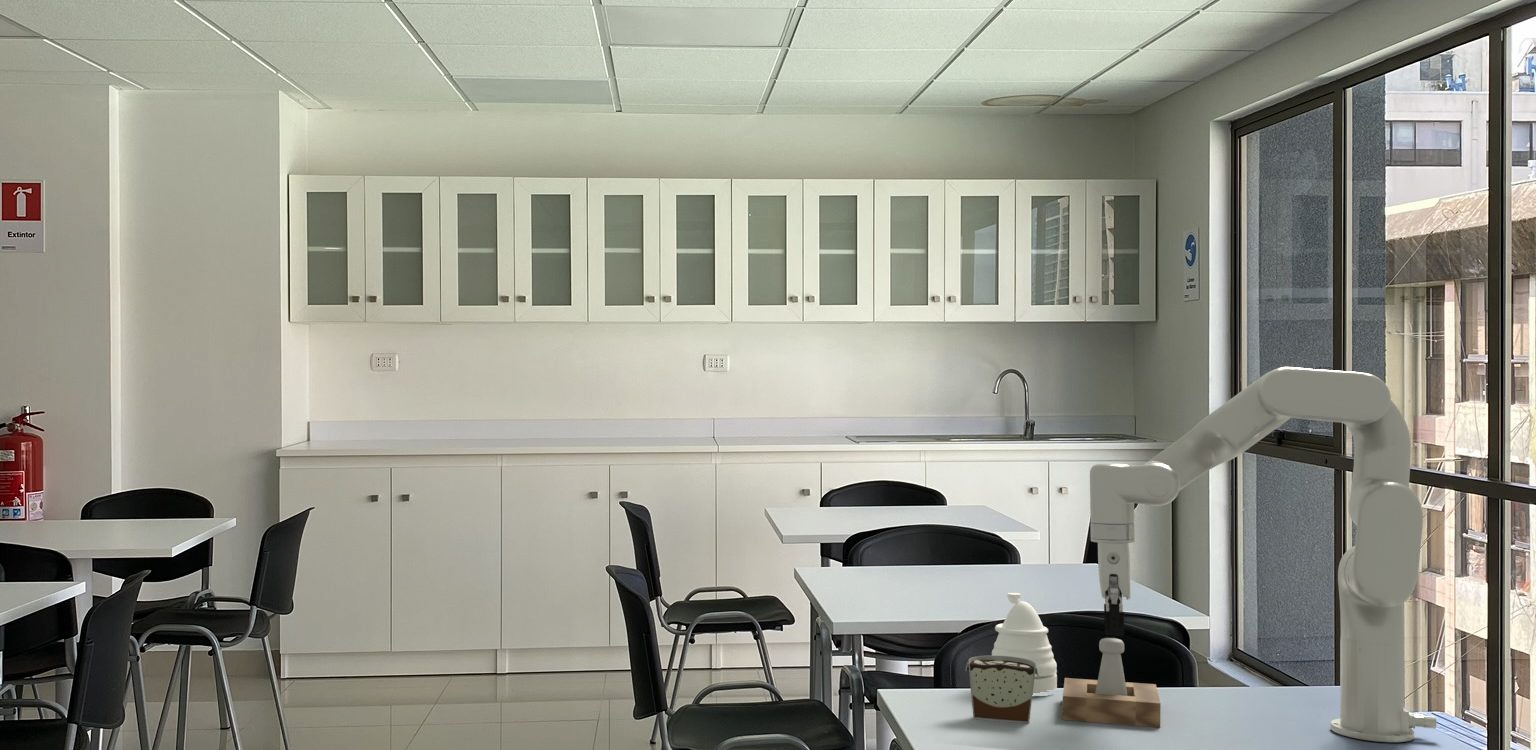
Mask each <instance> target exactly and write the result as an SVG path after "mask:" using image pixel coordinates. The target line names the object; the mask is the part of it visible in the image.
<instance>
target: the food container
mask: <svg viewBox="0 0 1536 750" xmlns="http://www.w3.org/2000/svg"><path fill="white" fill-rule="evenodd" d="M967 671H968V673H969V685H970V695H971V697H970V698H971V706H972V707H971V709H972V718H973V720H985V721H995V722H996V721H997V722H1008V723H1021V724H1030V719H1031V709H1032V703H1033V702H1032V701H1033V697H1032V695H1033V686H1034V678H1035V674H1037V675H1038V670H1037V667H1036V663H1035V662H1033V661H1031V660H1028V659H1024V658H1018V657H1011V656H992V655H978V656H977V655H976V656H973V657H972V656H971V657H970V658H969V659H968V661H967V662H966V666H965V672H967ZM1038 677H1039V675H1038Z"/></svg>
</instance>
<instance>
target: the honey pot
mask: <svg viewBox="0 0 1536 750" xmlns="http://www.w3.org/2000/svg"><path fill="white" fill-rule="evenodd" d="M1006 595H1007V598H1008V601H1009V602H1010V603H1011V604H1013V606H1012V608H1011V609H1010V610H1009V612H1008V613H1007V615H1006V617H1005V619H1004V621H1003V623H999V624H996V625H995V627H994V629H995V631H996V632H997V633H998V634H997V638H996V641H995V642H994V643H993V649H992V650H991V656H1011V657H1018V658H1024V659H1028V660H1031V661H1033V662H1035V663H1036V667H1037V670H1038V675H1039V677H1038V675H1037V674H1035V678H1034V686H1033V693H1040V692H1049V691H1047V690H1054V689H1057V690H1058V684H1057V683H1058V675H1057V673H1058V670H1057V666H1058V665H1057V662H1056V660H1055V658H1054V653H1053V651H1052V648H1053V646H1052V645H1051V644H1050V641H1049V638H1048V635H1047V634H1048V633H1049V628H1048V627H1046V626H1044V624H1043V622H1042V621H1041V618H1040V616H1039V614H1038V612H1037V611H1036V609H1035V608H1034V607H1033V606H1032V605H1031V604H1030V603H1029V602H1028V601H1022V600H1021V596H1022V593H1019V592H1007V594H1006Z"/></svg>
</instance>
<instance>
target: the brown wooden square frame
mask: <svg viewBox="0 0 1536 750" xmlns="http://www.w3.org/2000/svg"><path fill="white" fill-rule="evenodd" d="M1063 681H1064V683H1063V692H1062V720H1065V721H1076V722H1077V721H1079V722H1087V723H1089V722H1090V723H1099V724H1100V723H1101V724H1112V725H1114V724H1116V725H1125V726H1138V727H1139V726H1141V727H1149V728H1151V727H1152V728H1161V710H1162V709H1161V707H1162V705H1161V700H1160V697H1159V693H1158V687H1157V684H1156V683H1155V684H1154V683H1142V682H1141V683H1140V682H1128V681H1127V682H1126V681H1125V683H1126V689H1127V695H1128V696H1121V695H1107V694H1095V692H1096V687H1097V682H1098V679H1084V678H1073V677H1072V678H1071V677H1070V678H1069V677H1064V680H1063Z"/></svg>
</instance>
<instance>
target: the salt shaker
mask: <svg viewBox="0 0 1536 750" xmlns="http://www.w3.org/2000/svg"><path fill="white" fill-rule="evenodd" d="M1098 647H1099V651H1100V652H1101V653H1102V657H1101V659H1100V666H1099V670H1098V671H1099V672H1098V676H1097V677H1098V678H1097V680H1098V682H1097V687H1096V692H1095V694H1107V695H1121V696H1128V695H1127V689H1126V683H1125V682H1126V679H1125V678H1126V677H1125V673H1124V666H1123V661H1122V660H1123V659H1122V655H1121V654H1124V652H1125V643H1124V641H1123V640H1122V639H1119V638H1116V637H1104V638H1101V639H1100V640H1099V643H1098Z"/></svg>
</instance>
